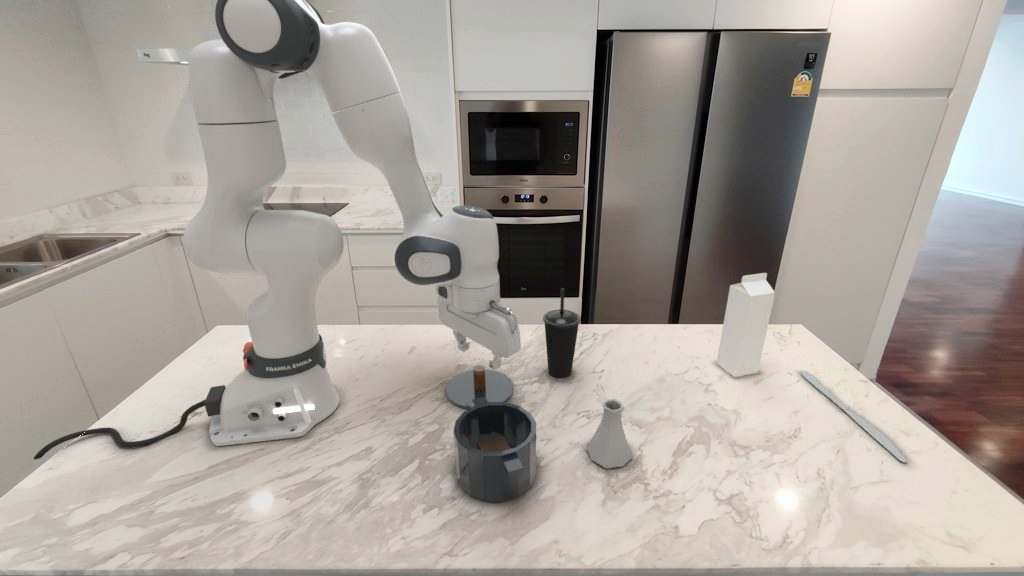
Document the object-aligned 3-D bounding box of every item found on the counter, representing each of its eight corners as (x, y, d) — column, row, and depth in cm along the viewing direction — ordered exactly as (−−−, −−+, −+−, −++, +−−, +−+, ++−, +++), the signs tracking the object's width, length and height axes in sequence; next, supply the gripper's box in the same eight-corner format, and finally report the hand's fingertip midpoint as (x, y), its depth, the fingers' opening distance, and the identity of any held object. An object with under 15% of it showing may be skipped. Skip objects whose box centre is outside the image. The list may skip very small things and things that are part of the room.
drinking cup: (576, 386, 99) (580, 297, 92) (539, 382, 101) (540, 295, 93) (579, 366, 106) (583, 283, 98) (544, 363, 108) (546, 280, 100)
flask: (605, 475, 76) (609, 424, 72) (578, 447, 82) (581, 399, 78) (640, 460, 79) (646, 410, 76) (612, 434, 85) (616, 387, 81)
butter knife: (812, 370, 103) (798, 370, 102) (916, 462, 78) (898, 462, 78) (811, 372, 103) (797, 372, 103) (914, 464, 78) (897, 464, 78)
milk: (757, 373, 103) (779, 278, 94) (734, 377, 101) (754, 281, 93) (738, 359, 108) (757, 267, 100) (715, 363, 107) (732, 270, 98)
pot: (474, 527, 67) (472, 478, 64) (445, 445, 83) (441, 402, 80) (556, 501, 72) (557, 454, 68) (513, 428, 87) (512, 386, 84)
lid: (456, 419, 90) (454, 394, 87) (439, 381, 101) (437, 358, 99) (523, 403, 94) (523, 379, 92) (500, 369, 106) (500, 346, 104)
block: (486, 483, 74) (485, 461, 73) (478, 464, 78) (477, 442, 77) (513, 475, 76) (512, 453, 74) (503, 457, 80) (503, 435, 78)
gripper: (528, 305, 84) (528, 372, 89) (455, 275, 97) (459, 334, 103) (502, 317, 80) (503, 386, 85) (430, 283, 93) (435, 345, 99)
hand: (478, 358), depth 94 cm, fingers open, 8 cm apart
